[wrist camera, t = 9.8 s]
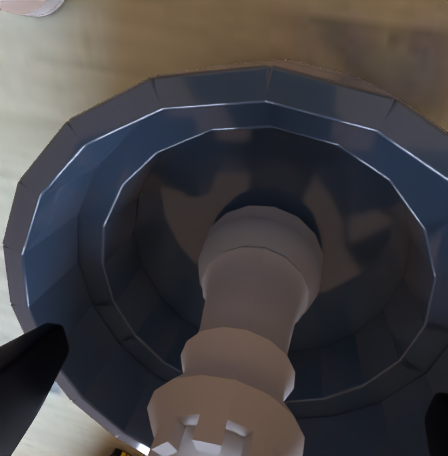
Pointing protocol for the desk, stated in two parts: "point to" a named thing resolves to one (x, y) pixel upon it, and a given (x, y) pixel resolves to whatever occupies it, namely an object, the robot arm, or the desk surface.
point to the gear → (30, 7)
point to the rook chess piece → (242, 341)
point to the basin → (216, 208)
